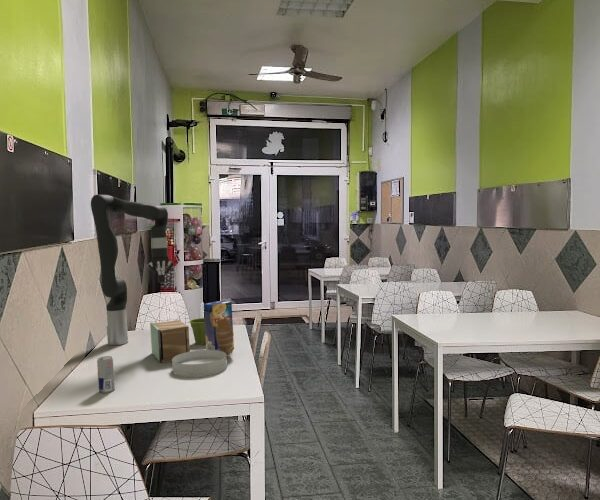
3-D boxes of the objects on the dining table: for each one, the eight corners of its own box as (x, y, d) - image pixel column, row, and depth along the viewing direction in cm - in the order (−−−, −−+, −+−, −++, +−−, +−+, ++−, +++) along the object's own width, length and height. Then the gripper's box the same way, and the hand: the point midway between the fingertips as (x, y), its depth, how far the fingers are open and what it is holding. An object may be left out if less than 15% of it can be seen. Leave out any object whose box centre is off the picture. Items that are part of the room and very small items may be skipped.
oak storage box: (155, 353, 235) (153, 323, 234) (181, 349, 240) (179, 319, 239) (162, 362, 219) (160, 330, 218) (190, 357, 224) (188, 326, 223)
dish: (180, 380, 193) (179, 367, 193) (166, 367, 212) (165, 355, 212) (235, 370, 203) (234, 358, 203) (217, 358, 223) (216, 347, 223)
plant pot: (212, 338, 260) (211, 316, 259) (216, 343, 248) (215, 320, 248) (189, 341, 256) (187, 319, 255) (191, 346, 245) (190, 323, 244)
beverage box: (234, 348, 238) (231, 301, 236) (215, 353, 230) (212, 305, 228) (224, 346, 242) (222, 300, 241) (206, 351, 234) (203, 304, 233)
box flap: (162, 361, 218) (160, 329, 218) (159, 362, 218) (157, 330, 217) (154, 352, 236) (152, 322, 235) (151, 352, 235) (150, 322, 234)
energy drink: (101, 388, 187) (99, 356, 186) (116, 387, 187) (114, 355, 186) (97, 393, 181) (94, 360, 181) (112, 392, 182) (110, 359, 181)
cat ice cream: (236, 357, 222) (234, 316, 221) (218, 359, 219) (216, 318, 218) (232, 352, 230) (230, 313, 229) (215, 354, 228) (213, 315, 227)
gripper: (146, 248, 240) (148, 284, 241) (174, 246, 245) (176, 282, 246) (144, 247, 246) (146, 283, 248) (171, 246, 252) (173, 280, 253)
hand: (161, 282), depth 247 cm, fingers closed
